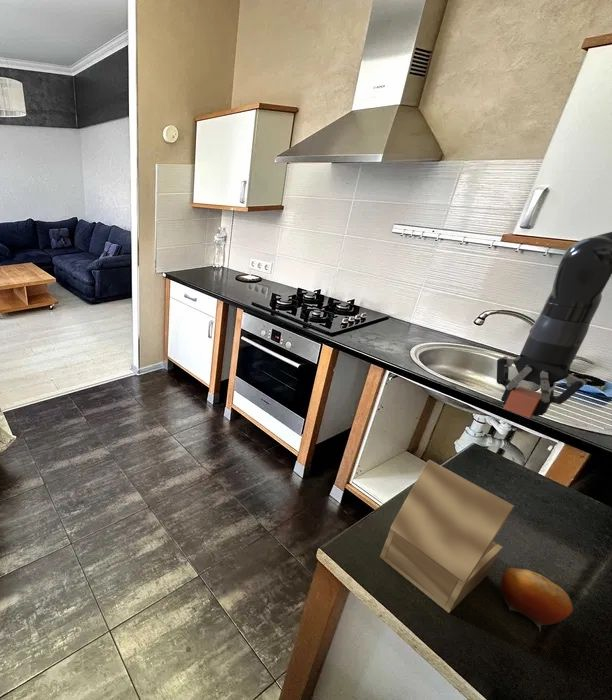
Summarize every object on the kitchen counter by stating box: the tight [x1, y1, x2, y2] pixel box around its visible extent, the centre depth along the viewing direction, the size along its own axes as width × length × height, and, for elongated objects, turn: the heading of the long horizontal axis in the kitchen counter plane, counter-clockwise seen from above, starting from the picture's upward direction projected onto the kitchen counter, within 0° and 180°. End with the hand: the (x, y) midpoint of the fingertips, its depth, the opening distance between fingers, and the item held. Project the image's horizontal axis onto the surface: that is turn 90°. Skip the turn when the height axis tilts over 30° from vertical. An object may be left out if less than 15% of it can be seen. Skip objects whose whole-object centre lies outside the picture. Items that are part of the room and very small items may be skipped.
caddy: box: [379, 528, 504, 614], centre depth 68 cm, size 14×12×7 cm
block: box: [503, 386, 541, 419], centre depth 82 cm, size 4×4×4 cm
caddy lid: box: [390, 459, 516, 583], centre depth 61 cm, size 14×12×1 cm
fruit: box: [500, 567, 574, 633], centre depth 61 cm, size 8×8×8 cm
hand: (520, 409), depth 83 cm, fingers closed on block, 4 cm apart
